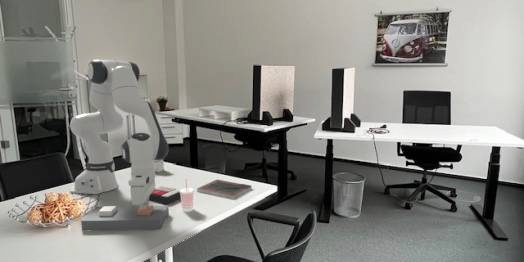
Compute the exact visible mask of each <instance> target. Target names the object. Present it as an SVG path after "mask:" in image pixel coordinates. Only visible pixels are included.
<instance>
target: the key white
mask: <svg viewBox="0 0 524 262" xmlns="http://www.w3.org/2000/svg"><path fill="white" fill-rule="evenodd" d="M116 206H117V205H112V206H111V205H106V206H105V205H104V206H101V207H102V208H101V209H100V210H99V216H113V215H114V214H115V213H116Z"/></svg>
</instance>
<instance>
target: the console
mask: <svg viewBox="0 0 524 262" xmlns="http://www.w3.org/2000/svg"><path fill="white" fill-rule="evenodd" d="M115 206H116V213H115V214H114V215H113V216H99V210H100V209H101V208H102V207H103V206H95V207H93V209H92V210H91V211H90V212H89V213H87V214H86V215H85V216H84V218H83V219H81V220H80V222H81V223H80V225H81V231H83V230H84V231H85V230H86V231H87V230H91V231H141V230H142V231H144V230H148V231H149V230H162V228H163V226H164V224H165V222H166V221H167V219H168V217H169V215H170V214H169V213H170V212H169V211H170V210H169V205H153V209H154V211H153V213H152V214H151V215H143V216H138V215H137V210H138V209H139V207H140V206H134V205H125V206H124V205H122V206H121V205H120V206H119V205H115ZM87 232H88V231H87Z"/></svg>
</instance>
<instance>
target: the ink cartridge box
mask: <svg viewBox="0 0 524 262" xmlns="http://www.w3.org/2000/svg"><path fill="white" fill-rule="evenodd" d="M153 163H154V167H155V173H156V172H157V173H161V172H163V171H164V169H165V167H164V165H165V164H164V159H162V160H153Z"/></svg>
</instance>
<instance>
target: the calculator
mask: <svg viewBox="0 0 524 262" xmlns="http://www.w3.org/2000/svg"><path fill="white" fill-rule="evenodd" d="M179 190H180V188H179V189H178V188H174V187H168V186H162V185H161V186H159V187H158V186H157V187H155V189H154V191H153V192H152V193H151V195H150V196H149V201H153V202H158V203H160V204H163V205H166V206H169V205H171V204H173V203H175V202H177V201H180V200H181V196H180V191H179Z"/></svg>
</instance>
